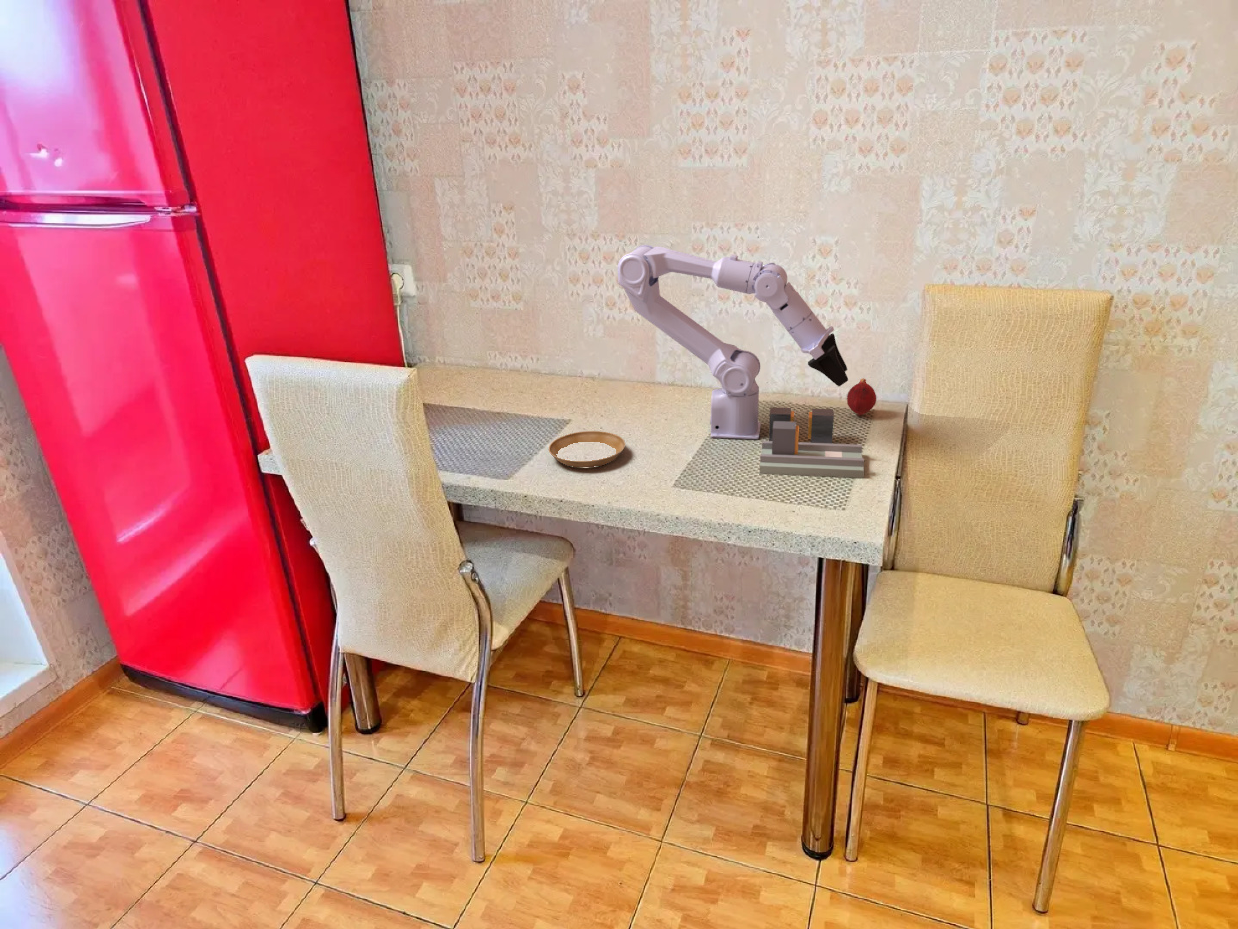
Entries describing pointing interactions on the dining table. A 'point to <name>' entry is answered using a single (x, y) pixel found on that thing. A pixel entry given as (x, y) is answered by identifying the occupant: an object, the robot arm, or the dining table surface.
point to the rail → (808, 455)
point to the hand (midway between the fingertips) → (843, 377)
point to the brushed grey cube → (821, 425)
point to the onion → (861, 398)
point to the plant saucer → (587, 436)
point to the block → (779, 417)
